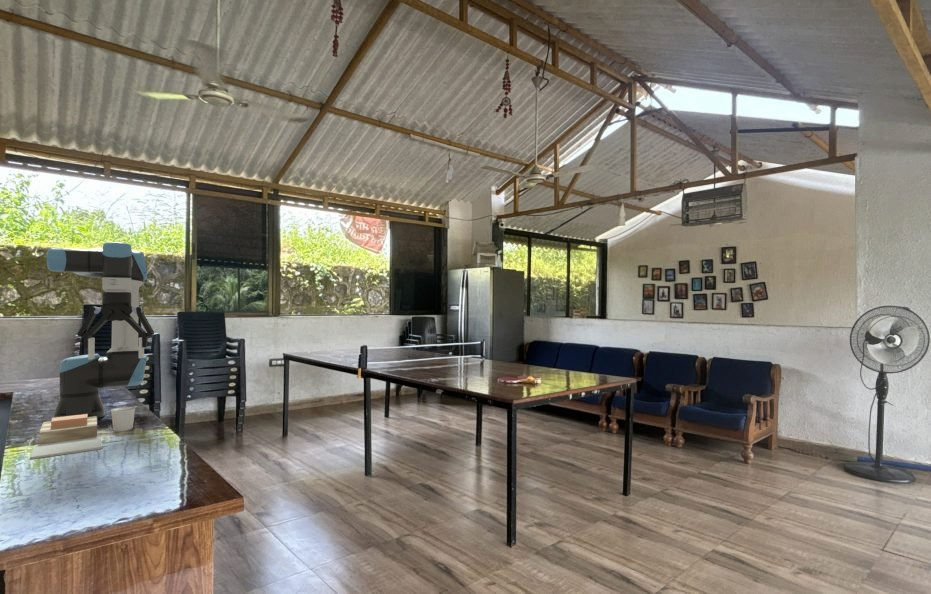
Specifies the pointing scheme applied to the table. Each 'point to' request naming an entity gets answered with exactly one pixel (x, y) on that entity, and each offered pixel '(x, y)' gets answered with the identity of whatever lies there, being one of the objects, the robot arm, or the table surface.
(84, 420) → the terracotta block
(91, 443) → the grey mat
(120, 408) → the shot glass
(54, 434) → the board
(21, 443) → the table surface
